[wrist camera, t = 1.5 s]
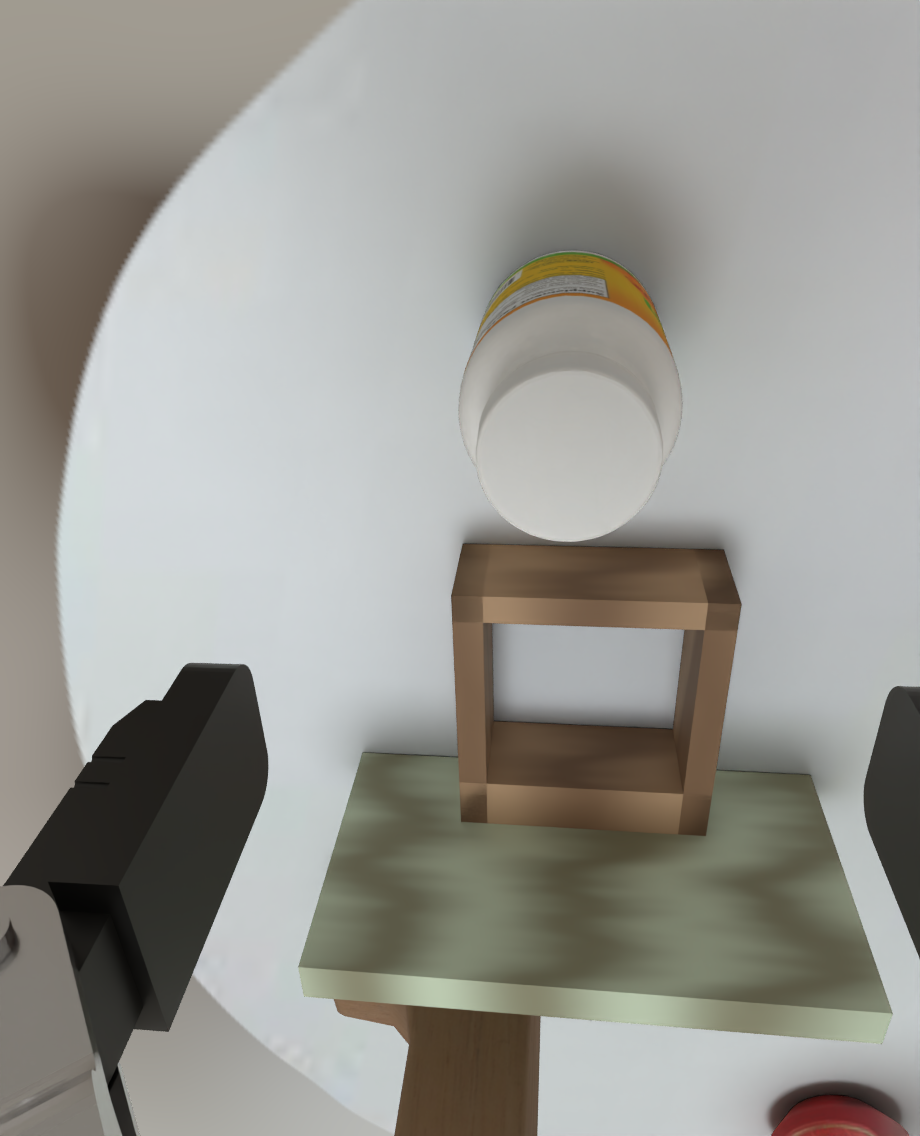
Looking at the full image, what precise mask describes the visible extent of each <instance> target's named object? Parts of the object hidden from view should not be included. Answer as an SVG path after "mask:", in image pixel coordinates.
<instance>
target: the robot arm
mask: <svg viewBox="0 0 920 1136" xmlns="http://www.w3.org/2000/svg"><path fill="white" fill-rule="evenodd" d="M267 779H268V754H267V748H266V743H265V738H264V733H263V728H262V723H261V717H260V712H259V707H258V702H257V697H256V692H255V687H254V682H253V677H252V674H251V671H250V669H249V668H248V667H247V666H246V665H244V664H212V663H188V664H186V665H185V666H184V667H183V668H182V670H181V671H180V673H179V674H178V676H177V678H176V679H175V681H174V682H173V684H172V685H171V687H170V689H169V690H168V692H167V693H166V695H165V696H164V698H163V700H162V701H157V700H145V701H144V702H143V703H141V704H140V705H139V706H138V707H136V708H135V709H134V710H132V711H131V712H130V713H128V714H127V715H126V716H125V717H123V718H122V719H121V720H119V721H118V722H117V723H116V724H114V725H113V726H112V727H111V729H110V730H109V732H108V733H107V735H106V736H105V738H104V739H103V741H102V742H101V744H100V745H99V746H98V748H97V749H96V751H95V752H94V754H93V755H92V761H91V762H88V763H87V764H86V765H85V767H84V768H83V770H82V771H81V773H80V774H79V776H78V777H77V779H76V780H75V786H74V788H70V789H69V790H68V792H67V793H66V795H65V796H64V798H63V799H62V801H61V802H60V804H59V805H58V807H57V808H56V810H55V811H54V813H53V814H52V815H51V817H50V818H49V820H48V821H47V823H46V824H45V826H44V827H43V829H42V830H41V831H40V833H39V834H38V836H37V837H36V839H35V840H34V842H33V843H32V845H31V846H30V848H29V849H28V851H27V852H26V853H25V855H24V857H23V858H22V859H21V861H20V862H19V864H18V865H17V867H16V868H15V870H14V871H13V872H12V874H11V876H10V877H9V878H8V880H7V881H6V883H5V884H4V885H3V886H2V887H0V1136H140V1133H139V1129H138V1126H137V1122H136V1118H135V1115H134V1111H133V1107H132V1103H131V1100H130V1096H129V1092H128V1089H127V1085H126V1081H125V1077H124V1074H123V1070H122V1068H121V1065H120V1063H119V1060H120V1058H121V1056H122V1054H123V1051H124V1049H125V1047H126V1045H127V1042H128V1040H129V1038H130V1036H131V1033H132V1031H133V1029H142V1030H153V1031H166V1032H168V1031H169V1030H170V1027H171V1025H172V1022H173V1020H174V1017H175V1015H176V1013H177V1010H178V1008H179V1005H180V1003H181V1000H182V998H183V995H184V993H185V990H186V988H187V985H188V983H189V981H190V978H191V976H192V973H193V971H194V968H195V966H196V964H197V961H198V959H199V956H200V954H201V951H202V949H203V946H204V944H205V941H206V939H207V937H208V934H209V932H210V929H211V927H212V924H213V922H214V919H215V917H216V914H217V912H218V910H219V907H220V905H221V902H222V900H223V897H224V895H225V892H226V890H227V888H228V885H229V883H230V880H231V878H232V875H233V873H234V870H235V868H236V865H237V863H238V861H239V858H240V856H241V853H242V851H243V848H244V846H245V843H246V841H247V838H248V836H249V834H250V831H251V829H252V826H253V824H254V821H255V819H256V816H257V814H258V812H259V809H260V807H261V804H262V801H263V799H264V795H265V791H266V786H267ZM864 811H865V818H866V823H867V827H868V830H869V833H870V836H871V838H872V841H873V843H874V846H875V848H876V851H877V853H878V856H879V858H880V861H881V863H882V866H883V868H884V871H885V873H886V876H887V878H888V881H889V883H890V886H891V888H892V891H893V893H894V896H895V898H896V901H897V903H898V906H899V908H900V911H901V913H902V915H903V918H904V920H905V923H906V925H907V928H908V930H909V933H910V935H911V938H912V940H913V943H914V945H915V948H916V950H917V953H918V955H919V958H920V687H905V686H897V687H894V688H893V689H892V690H891V691H890V693H889V695H888V697H887V699H886V703H885V706H884V710H883V714H882V718H881V722H880V725H879V729H878V733H877V737H876V741H875V745H874V748H873V752H872V756H871V760H870V764H869V767H868V771H867V775H866V779H865V785H864Z"/></svg>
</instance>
